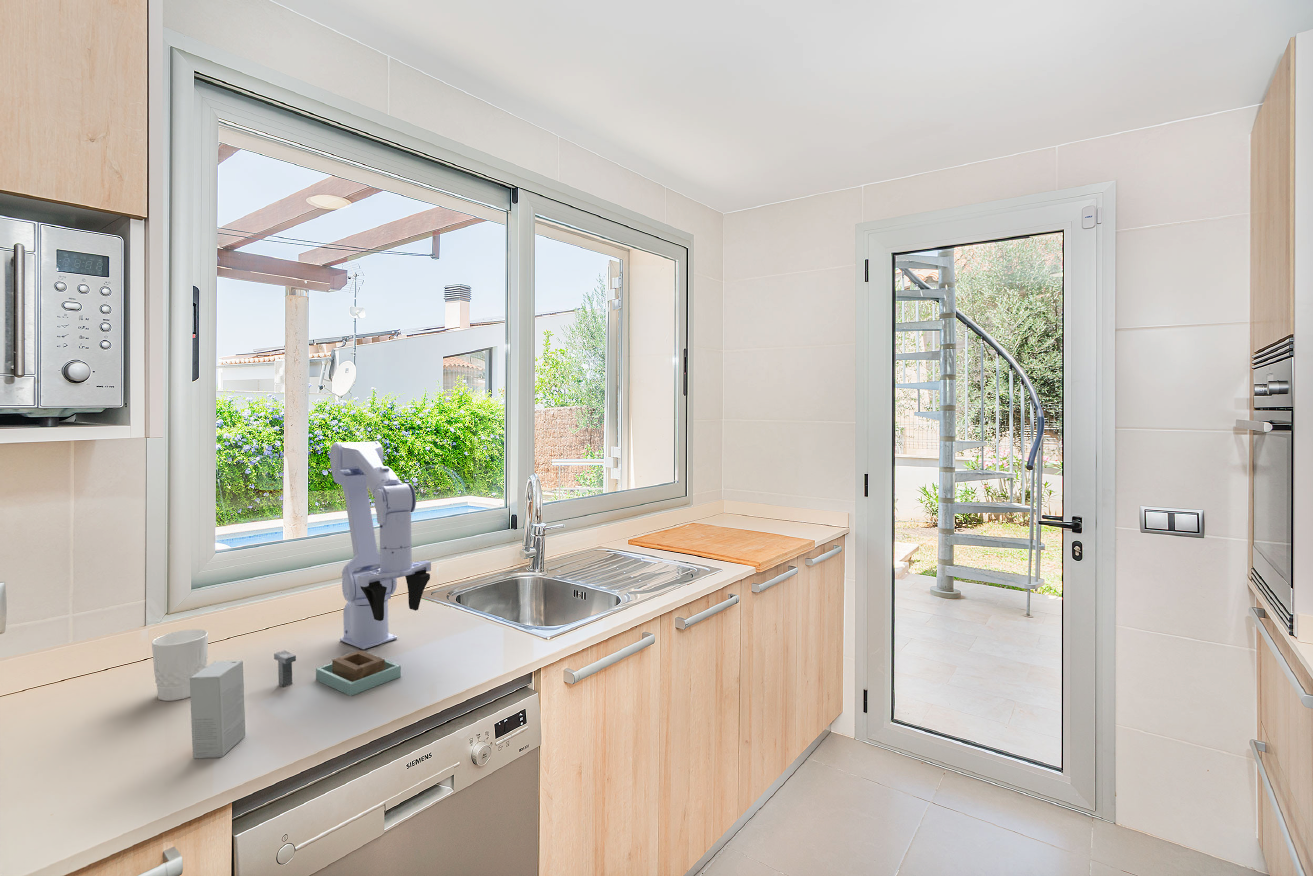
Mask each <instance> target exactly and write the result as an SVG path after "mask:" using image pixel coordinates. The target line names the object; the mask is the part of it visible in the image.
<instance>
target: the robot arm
mask: <svg viewBox="0 0 1313 876" xmlns="http://www.w3.org/2000/svg"><path fill="white" fill-rule="evenodd" d="M329 456H330V457H329V460H330V462H329V463H330V468H331V476H332V478H333V482H334V483H336V484H338V485H340V486H341V488H342V491H343V495H344V500H345V506H346V513H347V518H348V525H349V527H348V528H349V533H350V540H351V544H352V552H353V558H352V559H350V561H349V562H347V563H346V564H345V565H344V566H343V569H342V571H341V577H342V581H341V589H342V595H343V599H344V600H345V601H346V603H345V606H344V607H343V614H342V615H343V617H342V618H343V636H342V637H340V638H339V641H340V642H344V643H346V644H349V645H351V646H354V647H356V648H359V649H360V650H367V649H369V648H372V647H375V646H379V645H381V644H385V643H387V642H390V641H394V640H396V639H398V636H397V635H394V634H392V633H390V632H389V600H391V599H392V595H394V594H395V591H397V584H398V581H397V580H398V578H399V579H400V578H403V577H405V580H406V586H407V592H408V593H407V594H408V607H409V609H410V610H411V611H412V610H413V611H419V608H420V603H421V599H422V596H423V593H424V591H425V588H426V586H427V584H428V582H429V581H430V580H431V574H430V573H428V572H431V571H432V562H431V561H430V560H420V561H413V562H412V558H413V557H412V513H414V511H415V510H416V506H417V494H416V490H415V488H414V486H413V485H412V483H410V482H409V483H407V482H402V480H400V478H399V477H398V476H397V474H396V473H395V472H394V470H393V469H392V468H390V467H389V466H388V465H386V466H385V465H384V464H383V462H384V449H383V445H382V444H381V443H380V442H379V441H378V440H374V441H360V442H359V441H358V442H357V441H356V442H355V441H353V442H347V441H346V442H339V441H335V442H334V443H333V444H332V445H331V446H330V454H329ZM368 489H369V490H368ZM368 491H370V492H371V494H372V495H373V497H374V499H373V500H374V509H375V512H376V522H377V524H379V552H378V546H377V540H376V534H375V532H376V531H375V528H374V522H373V517H372V509H371V503H370V497H369V492H368Z"/></svg>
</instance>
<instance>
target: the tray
mask: <svg viewBox="0 0 1313 876" xmlns="http://www.w3.org/2000/svg"><path fill="white" fill-rule="evenodd" d="M368 653H369V652H368ZM369 654H371V653H369ZM373 655H374V656H376V655H375V654H373ZM378 657H379V658H381V657H380V656H378ZM383 659H384V660H385V670H383V671H381V672H378V673H375V674H373V675H370V676H367V677H365V678H362V679H359V680H356V681H354V682H351V681H348V680H346V679H344V678H342V677H339V676H337V675H335V674H333V671H332V662H331V663H329V664H328V663H327V664H326V665H321V666H320V667H316V668H315V680H316V681H318V682H320V683H322V684H325V685H327V686H328V687H331V688H333V689H336V690H338V691H339V692H341V693H344V694H346V695H348V696H349V697H351V696H355V695H357V694H361V693H362V692H364V691H367V690H369V689H372V688H375V687H377V686H380V685H383V684H386V683H388V682H390V681H393V680H395V679H398V678H401V675H402V674H401V673H402V672H401V670H402V669H401V665H399V663H398V664H397V663H395V662H392V661H390V660H388V659H385V658H383Z"/></svg>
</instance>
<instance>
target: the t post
mask: <svg viewBox="0 0 1313 876" xmlns="http://www.w3.org/2000/svg"><path fill="white" fill-rule="evenodd" d="M273 660H276V661H277V663H278V665H277V669H278V672H277V673H278V685H279V686H280V687H283V688H284V687H287V686H290V685H292V684H293V663H294V662H296V660H297V657H296V655H295V654H293V653H291V652H289V651H287V650H282V651H278V652H275V653H273Z"/></svg>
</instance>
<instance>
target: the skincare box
mask: <svg viewBox="0 0 1313 876" xmlns="http://www.w3.org/2000/svg"><path fill="white" fill-rule="evenodd" d="M189 699H190V718H191V719H190V720H191V721H190V723H191V739H192V740H191V741H192V742H191V743H192V745H191V746H192V758H193V759H207V758H208V759H210V758H212V759H214V758H216V759H217V758H223V757H224V756H225V755H226V754H227V753H228V752H229V751H231V750H232V749H233V748H234V746H236V745H237V744H238V743H239V742H240V741H241V740H243V738H245V737H246V734H247V733H246V716H245V715H246V714H245V713H246V711H245V710H246V709H245V684H244V661H243V660H216V661H213V662H212V663H211V664H209V665H207V667H206V668H204V669H203V670H201V671H200V672H198V673H197V674H195V675H193V676H192V677H190V697H189Z"/></svg>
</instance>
